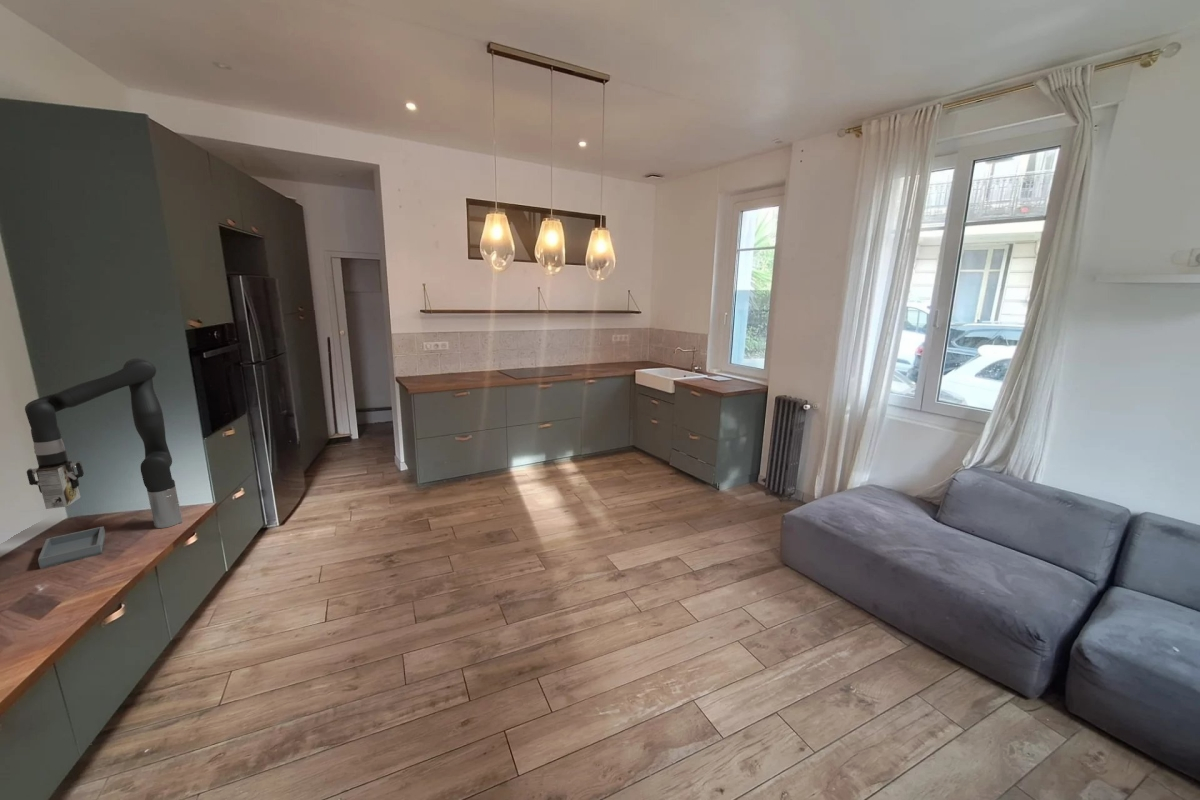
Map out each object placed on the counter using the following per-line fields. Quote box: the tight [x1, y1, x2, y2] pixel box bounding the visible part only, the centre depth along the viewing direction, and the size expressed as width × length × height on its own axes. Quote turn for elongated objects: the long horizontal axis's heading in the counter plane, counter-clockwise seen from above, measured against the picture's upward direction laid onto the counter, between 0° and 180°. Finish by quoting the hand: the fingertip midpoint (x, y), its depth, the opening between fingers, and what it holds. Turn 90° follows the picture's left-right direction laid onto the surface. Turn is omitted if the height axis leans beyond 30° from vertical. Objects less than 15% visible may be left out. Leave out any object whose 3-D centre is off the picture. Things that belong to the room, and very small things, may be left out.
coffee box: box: [36, 460, 81, 510], centre depth 181 cm, size 9×6×16 cm
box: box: [37, 526, 106, 570], centre depth 186 cm, size 16×20×4 cm
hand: (60, 490), depth 181 cm, fingers closed on coffee box, 7 cm apart
